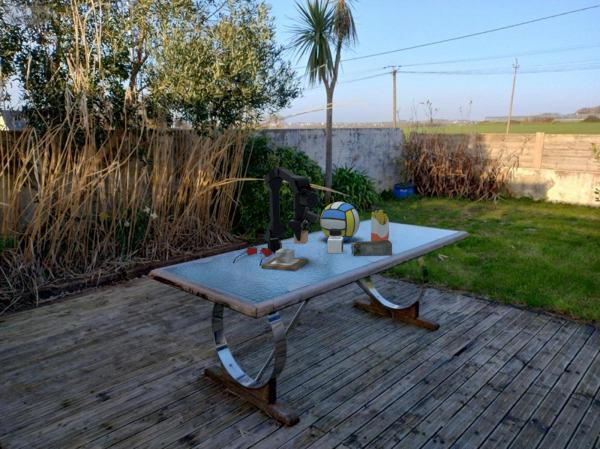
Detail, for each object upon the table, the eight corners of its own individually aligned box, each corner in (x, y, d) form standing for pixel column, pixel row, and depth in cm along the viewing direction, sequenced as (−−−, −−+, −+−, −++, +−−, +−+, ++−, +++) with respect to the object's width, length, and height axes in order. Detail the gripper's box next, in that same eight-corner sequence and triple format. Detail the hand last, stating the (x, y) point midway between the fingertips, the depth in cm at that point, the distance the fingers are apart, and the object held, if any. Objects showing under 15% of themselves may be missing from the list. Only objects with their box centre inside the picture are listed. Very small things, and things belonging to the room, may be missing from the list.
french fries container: (389, 242, 233) (389, 210, 229) (377, 245, 225) (378, 212, 222) (382, 241, 236) (382, 209, 233) (370, 244, 228) (370, 211, 225)
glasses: (273, 257, 207) (272, 247, 206) (260, 266, 191) (259, 255, 191) (247, 256, 211) (246, 246, 210) (232, 264, 196) (231, 254, 195)
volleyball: (365, 238, 243) (366, 200, 240) (348, 246, 225) (348, 205, 222) (332, 235, 255) (331, 199, 251) (313, 242, 237) (312, 203, 233)
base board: (261, 268, 187) (260, 253, 185) (276, 259, 201) (275, 245, 200) (295, 271, 181) (295, 255, 180) (308, 261, 196) (307, 247, 195)
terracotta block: (294, 243, 191) (293, 232, 190) (297, 241, 196) (297, 230, 195) (304, 243, 189) (304, 232, 188) (308, 241, 194) (307, 230, 193)
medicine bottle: (341, 253, 209) (341, 230, 207) (327, 253, 211) (327, 229, 209) (343, 250, 216) (343, 227, 214) (329, 250, 218) (329, 227, 216)
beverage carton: (350, 252, 212) (350, 240, 211) (389, 251, 213) (389, 239, 211) (353, 256, 204) (353, 243, 203) (393, 255, 205) (393, 242, 204)
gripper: (311, 209, 178) (311, 245, 181) (323, 203, 196) (323, 236, 198) (286, 208, 182) (287, 243, 185) (300, 202, 199) (301, 235, 202)
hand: (300, 239), depth 192 cm, fingers closed on terracotta block, 5 cm apart
